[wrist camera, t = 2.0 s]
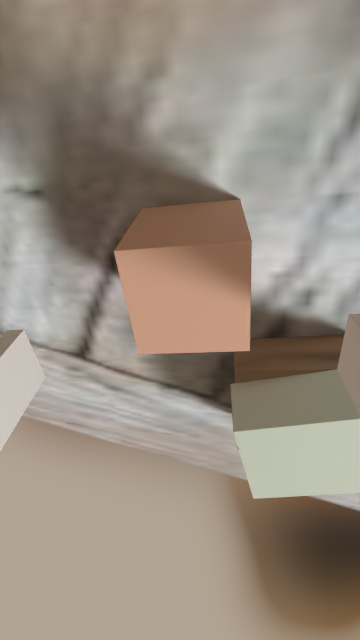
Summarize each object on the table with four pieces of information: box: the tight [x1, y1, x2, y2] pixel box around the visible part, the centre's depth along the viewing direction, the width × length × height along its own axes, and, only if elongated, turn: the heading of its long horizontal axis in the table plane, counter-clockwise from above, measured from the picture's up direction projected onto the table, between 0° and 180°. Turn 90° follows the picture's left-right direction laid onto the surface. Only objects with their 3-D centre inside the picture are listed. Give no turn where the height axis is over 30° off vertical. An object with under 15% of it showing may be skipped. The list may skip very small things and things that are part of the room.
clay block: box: [114, 199, 252, 354], centre depth 18 cm, size 6×6×7 cm
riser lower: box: [233, 335, 344, 450], centre depth 26 cm, size 9×9×4 cm
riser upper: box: [230, 369, 360, 499], centre depth 22 cm, size 8×8×4 cm
